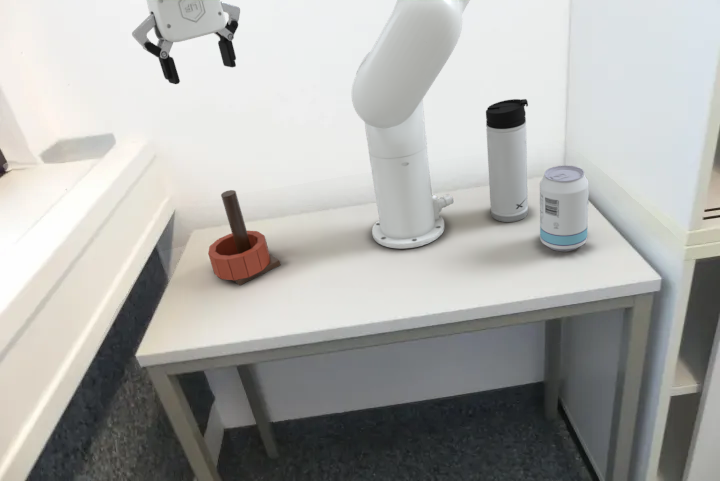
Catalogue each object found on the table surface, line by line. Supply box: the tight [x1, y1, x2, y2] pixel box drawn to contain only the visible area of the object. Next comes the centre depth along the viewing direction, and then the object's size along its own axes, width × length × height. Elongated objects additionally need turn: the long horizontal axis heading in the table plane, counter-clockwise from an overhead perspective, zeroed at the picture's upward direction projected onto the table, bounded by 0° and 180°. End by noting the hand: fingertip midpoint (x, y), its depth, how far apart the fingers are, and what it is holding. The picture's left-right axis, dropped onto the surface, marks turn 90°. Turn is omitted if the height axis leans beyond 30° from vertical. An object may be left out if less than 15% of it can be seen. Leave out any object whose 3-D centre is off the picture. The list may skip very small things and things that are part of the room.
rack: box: [220, 189, 282, 286], centre depth 99 cm, size 8×8×14 cm
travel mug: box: [485, 98, 529, 223], centre depth 100 cm, size 6×7×20 cm
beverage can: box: [539, 164, 590, 252], centre depth 91 cm, size 7×7×12 cm
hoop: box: [207, 230, 271, 281], centre depth 101 cm, size 9×9×4 cm
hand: (203, 74), depth 95 cm, fingers open, 9 cm apart
